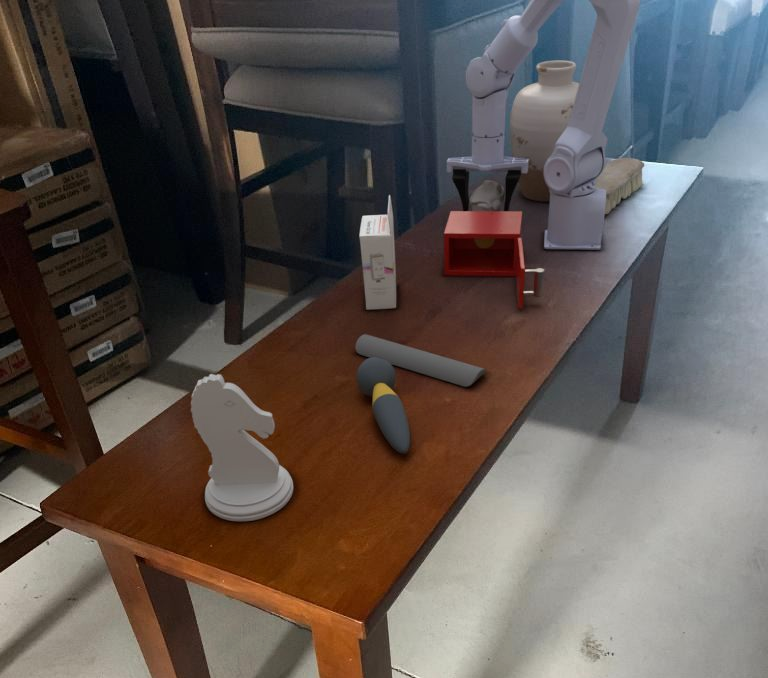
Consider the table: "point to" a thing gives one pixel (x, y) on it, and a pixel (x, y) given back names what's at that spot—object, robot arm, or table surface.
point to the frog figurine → (487, 197)
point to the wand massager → (385, 401)
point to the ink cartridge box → (378, 260)
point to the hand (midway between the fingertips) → (486, 211)
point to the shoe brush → (620, 180)
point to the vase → (541, 122)
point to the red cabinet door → (521, 275)
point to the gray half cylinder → (419, 360)
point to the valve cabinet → (482, 243)
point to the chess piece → (238, 453)
